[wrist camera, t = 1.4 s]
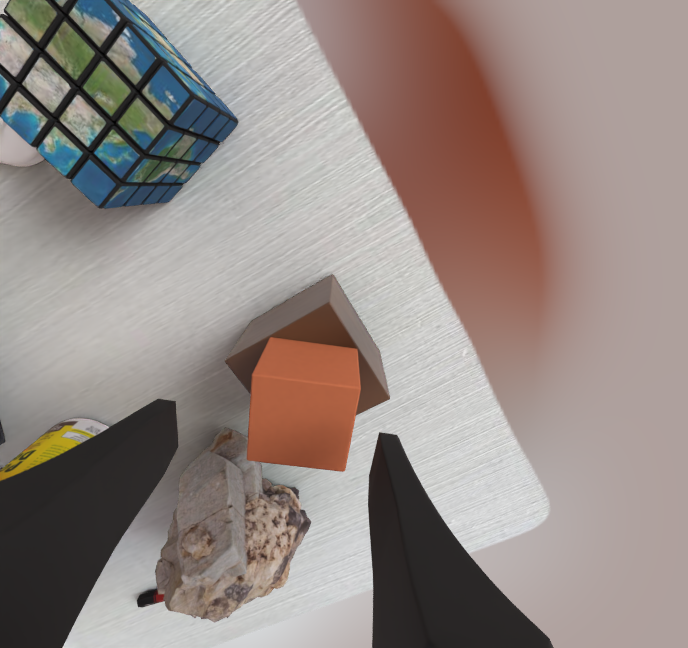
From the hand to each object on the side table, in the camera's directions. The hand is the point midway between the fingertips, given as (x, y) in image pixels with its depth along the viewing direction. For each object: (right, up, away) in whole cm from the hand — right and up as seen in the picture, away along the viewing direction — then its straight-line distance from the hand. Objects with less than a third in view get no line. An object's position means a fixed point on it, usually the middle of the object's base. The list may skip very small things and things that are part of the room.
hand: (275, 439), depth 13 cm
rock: (-5, -7, +15) cm, 17 cm away
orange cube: (+1, +1, +5) cm, 5 cm away
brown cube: (+1, +3, +10) cm, 11 cm away
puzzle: (-7, +15, +6) cm, 17 cm away
